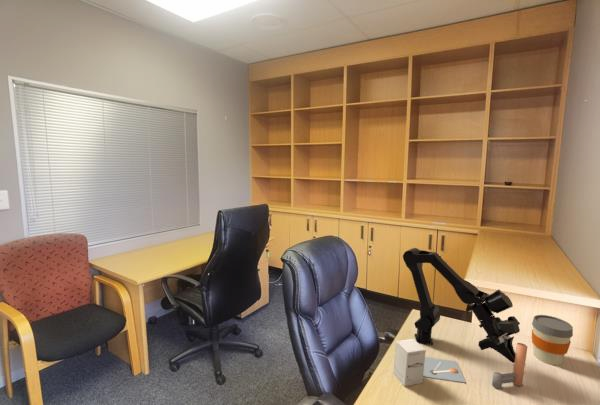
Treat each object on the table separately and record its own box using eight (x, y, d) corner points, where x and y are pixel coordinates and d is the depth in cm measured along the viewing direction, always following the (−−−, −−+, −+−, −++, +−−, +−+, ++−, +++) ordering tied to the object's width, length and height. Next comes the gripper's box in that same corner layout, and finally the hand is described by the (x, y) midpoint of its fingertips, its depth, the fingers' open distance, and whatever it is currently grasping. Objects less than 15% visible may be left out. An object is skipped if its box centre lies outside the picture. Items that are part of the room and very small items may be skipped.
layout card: (417, 356, 126) (417, 355, 126) (455, 361, 124) (456, 360, 124) (423, 376, 115) (423, 375, 115) (465, 383, 112) (465, 382, 112)
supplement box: (404, 387, 109) (407, 352, 107) (392, 373, 116) (394, 340, 114) (423, 383, 111) (426, 349, 109) (410, 370, 118) (413, 337, 116)
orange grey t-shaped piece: (496, 389, 109) (501, 350, 107) (489, 383, 112) (494, 345, 110) (524, 385, 111) (529, 347, 109) (516, 379, 114) (522, 342, 112)
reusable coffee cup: (575, 370, 121) (581, 333, 119) (537, 365, 123) (542, 328, 121) (556, 351, 133) (561, 316, 131) (522, 346, 135) (526, 312, 133)
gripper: (491, 316, 110) (523, 364, 103) (517, 304, 120) (547, 347, 113) (466, 327, 118) (494, 372, 110) (492, 315, 128) (519, 356, 121)
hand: (515, 361), depth 113 cm, fingers closed
